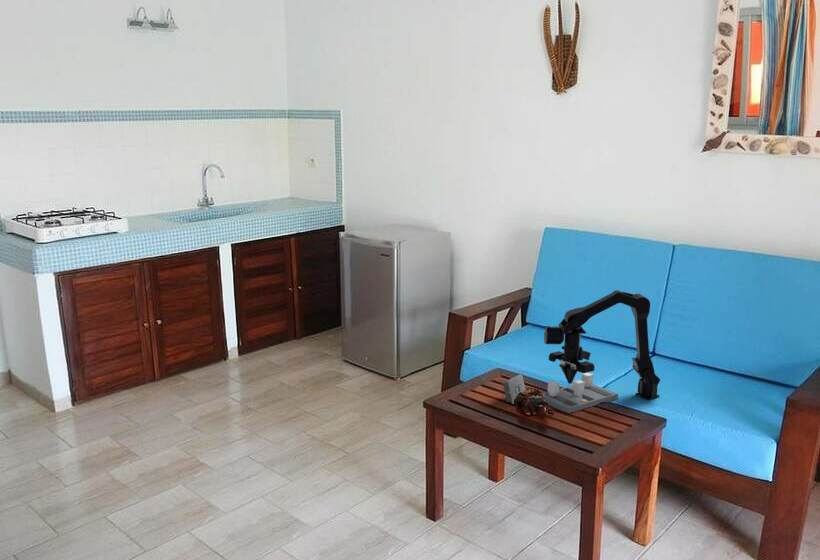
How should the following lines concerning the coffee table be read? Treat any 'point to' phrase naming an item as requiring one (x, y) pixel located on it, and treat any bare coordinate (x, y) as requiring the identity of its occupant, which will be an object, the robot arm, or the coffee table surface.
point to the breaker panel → (571, 402)
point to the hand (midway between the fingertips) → (570, 383)
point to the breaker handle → (578, 387)
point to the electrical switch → (513, 387)
